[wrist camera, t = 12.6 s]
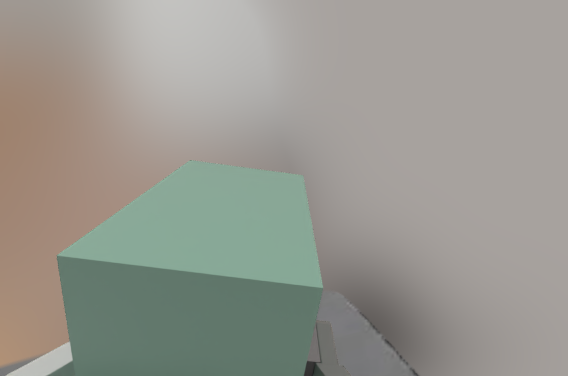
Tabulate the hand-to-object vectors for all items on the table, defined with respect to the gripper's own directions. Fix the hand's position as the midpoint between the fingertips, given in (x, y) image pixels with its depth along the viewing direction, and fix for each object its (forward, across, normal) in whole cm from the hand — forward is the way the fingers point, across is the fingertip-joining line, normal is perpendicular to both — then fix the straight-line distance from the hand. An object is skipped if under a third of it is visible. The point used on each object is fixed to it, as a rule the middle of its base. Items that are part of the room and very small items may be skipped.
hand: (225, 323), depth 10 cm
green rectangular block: (-1, 0, +5) cm, 5 cm away
